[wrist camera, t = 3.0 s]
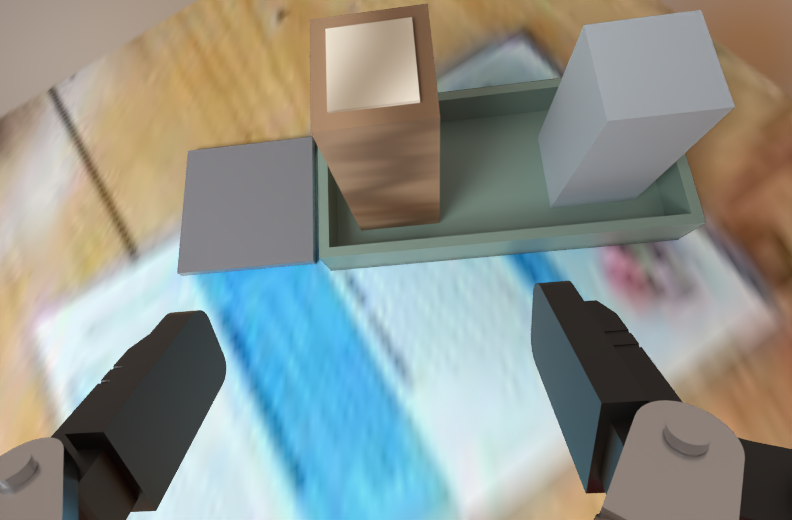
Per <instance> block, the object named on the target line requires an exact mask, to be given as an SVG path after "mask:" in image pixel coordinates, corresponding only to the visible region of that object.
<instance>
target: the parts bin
mask: <svg viewBox="0 0 792 520" xmlns="http://www.w3.org/2000/svg"><path fill="white" fill-rule="evenodd" d="M561 79H562V78H557V79H548V80H540V81H532V82H523V83H515V84H507V85H498V86H490V87H481V88H473V89H465V90H456V91H448V92H440V93H438V102H439V111H440V214H439V223H436V224H426V225H415V226H405V227H394V228H384V229H374V230H363V231H361V229H360V227H359V225H358V223H357V222H356V220H355V218H354V216H353V214H352V212H351V210H350V208H349V206H348V204H347V202H346V200H345V198H344V196H343V194H342V192H341V190H340V188H339V186H338V185H337V183H336V181H335V179H334V177H333V175H332V173H331V171H330V169H329V167H328V165H327V163H326V161H325V159H324V157H323V155H322V153H321V151H320V150H319V148H318V210H319V259H320V260H321V261H322V262H323V263H324V264H325V265H326V266H327V267H328V268H329V269H330V270H331V271H332V270H344V269H355V268H366V267H377V266H388V265H400V264H411V263H422V262H433V261H444V260H455V259H467V258H478V257H489V256H500V255H511V254H523V253H534V252H545V251H556V250H567V249H579V248H590V247H601V246H612V245H623V244H635V243H646V242H657V241H668V240H678V239H679V238H681V237H683V236H684V235H686V234H688V233H690V232H691V231H693V230H695V229H696V228H698V227H700V226H701V225H703V224H705V223H706V221H705V217H704V214H703V211H702V207H701V204H700V201H699V197H698V194H697V191H696V187H695V184H694V180H693V177H692V174H691V170H690V167H689V164H688V160H687V157H686V154H683V155H682V156H681V157H680V158H679V159H678V160H677V161H676V162H675V163H674V164H673V165H672V166H670V167H669V168H668V169H667V170H666V171H665V172H664V173H663V174H662V175H661V176H660V177H658V178H657V179H656V180H655V181H654V182H653V183H652V184H651V185H650V186H649V187H648V188H647V189H645V190H644V191H643V192H642V193H641V194H640V195H639V196H638V197H637V198H636V199H635V200H627V201H617V202H607V203H596V204H586V205H576V206H565V207H555V208H551V207H550V201H549V196H548V190H547V185H546V180H545V174H544V169H543V164H542V158H541V153H540V147H539V142H538V136H539V133H540V131H541V128H542V126H543V123H544V121H545V119H546V116H547V114H548V111H549V109H550V106H551V104H552V101H553V99H554V97H555V94H556V92H557V89H558V87H559V84H560V82H561Z"/></svg>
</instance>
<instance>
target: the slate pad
mask: <svg viewBox="0 0 792 520" xmlns="http://www.w3.org/2000/svg"><path fill="white" fill-rule="evenodd" d="M305 264H316V224H315V141H314V139H313V137H305V138H296V139H287V140H279V141H270V142H261V143H253V144H244V145H235V146H226V147H218V148H209V149H200V150H191V151H188V158H187V169H186V181H185V192H184V203H183V215H182V226H181V237H180V248H179V260H178V271H177V273H178V274H180V275H182V276H184V275H195V274H206V273H217V272H228V271H239V270H250V269H261V268H272V267H283V266H294V265H305Z"/></svg>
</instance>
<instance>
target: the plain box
mask: <svg viewBox="0 0 792 520" xmlns="http://www.w3.org/2000/svg"><path fill="white" fill-rule="evenodd" d="M734 107H735V105H734V102H733V100H732V97H731V94H730V91H729V88H728V85H727V82H726V80H725V77H724V74H723V71H722V68H721V65H720V62H719V60H718V57H717V54H716V51H715V48H714V45H713V42H712V40H711V37H710V34H709V31H708V28H707V25H706V22H705V20H704V17H703V14H702V11H701V10H696V11H689V12H680V13H672V14H665V15H657V16H649V17H641V18H633V19H626V20H618V21H610V22H602V23H595V24H587V25H584V26H583V28H582V31H581V33H580V36H579V38H578V40H577V43H576V45H575V48H574V50H573V53H572V55H571V58H570V60H569V62H568V65H567V67H566V70H565V72H564V75H563V77H562V79H561V82H560V84H559V87H558V89H557V92H556V94H555V97H554V99H553V101H552V104H551V106H550V109H549V111H548V114H547V116H546V119H545V121H544V123H543V126H542V128H541V131H540V133H539V136H538V142H539V147H540V153H541V158H542V164H543V169H544V174H545V180H546V185H547V190H548V196H549V201H550V207H551V208H555V207H565V206H576V205H586V204H596V203H607V202H617V201H627V200H635V199H636V198H637V197H638V196H639V195H640V194H641V193H642V192H643V191H644V190H645V189H647V188H648V187H649V186H650V185H651V184H652V183H653V182H654V181H655V180H656V179H657V178H658V177H660V176H661V175H662V174H663V173H664V172H665V171H666V170H667V169H668V168H669V167H670V166H672V165H673V164H674V163H675V162H676V161H677V160H678V159H679V158H680V157H681V156H682V155H683V154H685V153H686V152H687V151H688V150H689V149H690V148H691V147H692V146H693V145H694V144H695V143H696V142H698V141H699V140H700V139H701V138H702V137H703V136H704V135H705V134H706V133H707V132H708V131H709V130H711V129H712V128H713V127H714V126H715V125H716V124H717V123H718V122H719V121H720V120H721V119H723V118H724V117H725V116H726V115H727V114H728V113H729V112H730V111H731V110H732V109H733V108H734Z"/></svg>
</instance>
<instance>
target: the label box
mask: <svg viewBox="0 0 792 520" xmlns="http://www.w3.org/2000/svg"><path fill="white" fill-rule="evenodd" d="M310 110H311V134H312V136H313V138H314V140H315V142H316V144H317V146H318V148H319V150H320V151H321V153H322V155H323V157H324V159H325V161H326V163H327V165H328V167H329V169H330V171H331V173H332V175H333V177H334V179H335V181H336V183H337V185H338V186H339V188H340V190H341V192H342V194H343V196H344V198H345V200H346V202H347V204H348V206H349V208H350V210H351V212H352V214H353V216H354V218H355V220H356V222H357V223H358V225H359V227H360V229H361V231H363V230H374V229H384V228H394V227H405V226H415V225H426V224H436V223H439V214H440V111H439V102H438V93H437V84H436V75H435V66H434V57H433V48H432V38H431V29H430V20H429V11H428V4H421V5H414V6H407V7H399V8H392V9H385V10H377V11H370V12H362V13H355V14H348V15H340V16H333V17H326V18H318V19H311V20H310Z"/></svg>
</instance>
